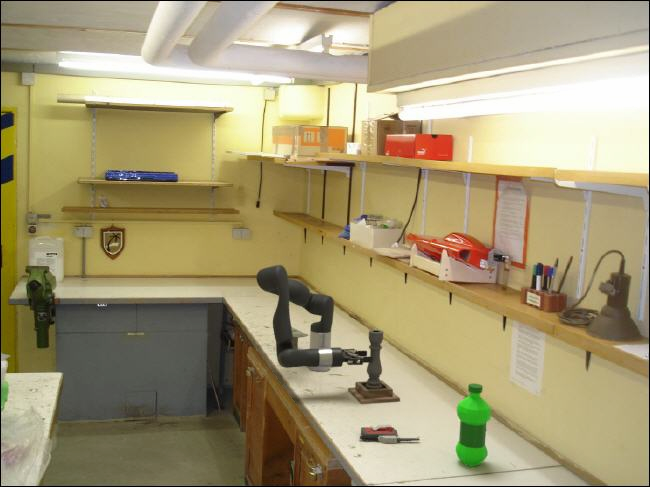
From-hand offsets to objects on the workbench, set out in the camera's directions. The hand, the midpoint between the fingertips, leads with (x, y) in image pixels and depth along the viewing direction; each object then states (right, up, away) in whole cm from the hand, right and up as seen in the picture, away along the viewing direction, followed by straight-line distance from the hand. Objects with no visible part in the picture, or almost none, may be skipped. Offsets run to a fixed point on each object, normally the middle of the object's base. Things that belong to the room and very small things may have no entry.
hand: (369, 356), depth 287 cm
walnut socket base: (+2, -16, +3) cm, 16 cm away
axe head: (-34, -7, +68) cm, 76 cm away
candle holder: (+2, -15, +2) cm, 15 cm away
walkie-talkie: (+4, -22, -40) cm, 46 cm away
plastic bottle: (+28, -25, -58) cm, 69 cm away
